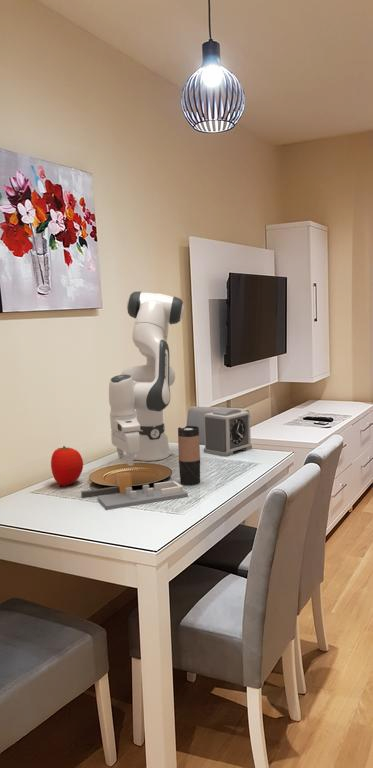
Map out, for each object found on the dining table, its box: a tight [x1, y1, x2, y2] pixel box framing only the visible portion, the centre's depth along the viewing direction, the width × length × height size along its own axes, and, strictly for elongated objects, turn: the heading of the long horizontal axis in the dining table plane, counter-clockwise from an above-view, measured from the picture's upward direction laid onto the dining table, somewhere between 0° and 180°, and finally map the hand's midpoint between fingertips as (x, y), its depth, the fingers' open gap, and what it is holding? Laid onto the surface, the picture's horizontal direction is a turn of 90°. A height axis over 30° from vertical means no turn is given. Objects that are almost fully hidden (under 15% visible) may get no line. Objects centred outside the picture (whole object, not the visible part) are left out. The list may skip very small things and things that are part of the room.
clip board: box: [96, 480, 189, 511], centre depth 208 cm, size 11×28×4 cm, turn 113°
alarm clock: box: [203, 407, 253, 458], centre depth 268 cm, size 18×13×18 cm
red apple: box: [50, 445, 84, 487], centre depth 226 cm, size 13×11×14 cm
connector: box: [80, 471, 132, 499], centre depth 214 cm, size 17×4×6 cm, turn 113°
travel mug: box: [177, 425, 201, 486], centre depth 223 cm, size 8×8×20 cm
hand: (125, 462), depth 215 cm, fingers open, 8 cm apart
